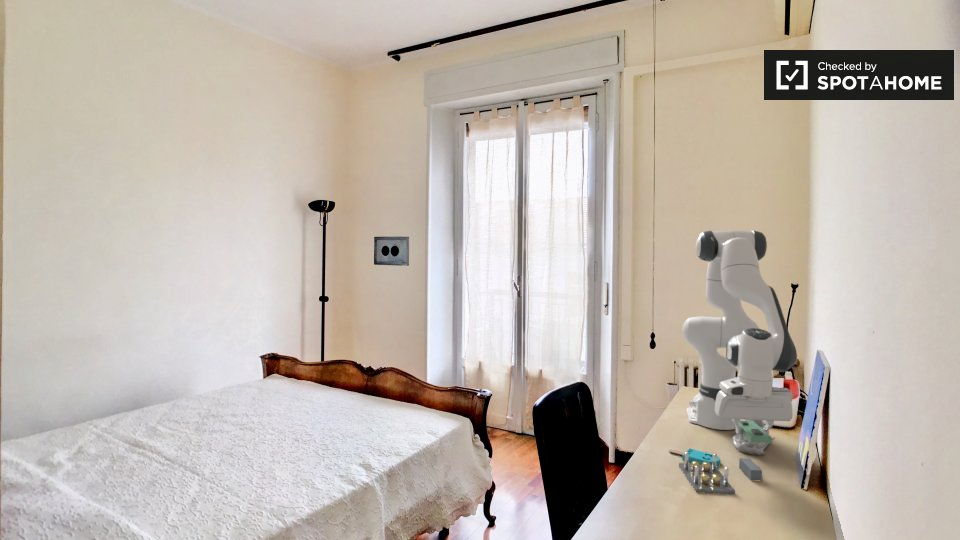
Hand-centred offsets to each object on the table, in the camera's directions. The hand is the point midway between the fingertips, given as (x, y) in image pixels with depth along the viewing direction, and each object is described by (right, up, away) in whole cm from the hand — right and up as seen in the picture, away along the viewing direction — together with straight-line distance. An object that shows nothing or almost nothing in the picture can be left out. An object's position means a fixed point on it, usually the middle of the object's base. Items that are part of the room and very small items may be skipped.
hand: (751, 433), depth 150 cm
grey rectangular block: (0, -12, 0) cm, 12 cm away
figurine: (+11, -11, +20) cm, 25 cm away
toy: (-12, -11, +11) cm, 20 cm away
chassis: (-15, -12, -3) cm, 19 cm away
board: (0, 0, 0) cm, 0 cm away
